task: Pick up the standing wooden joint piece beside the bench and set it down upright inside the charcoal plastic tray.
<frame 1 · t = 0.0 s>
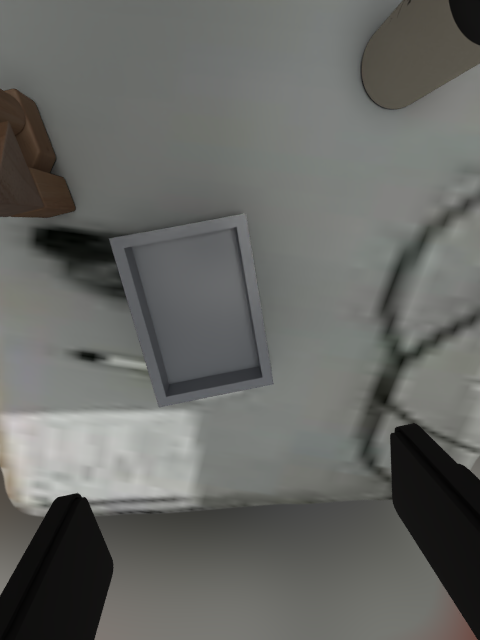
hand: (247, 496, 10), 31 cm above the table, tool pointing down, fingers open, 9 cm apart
travel mug: (395, 68, 34), on the table
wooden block: (42, 163, 34), on the table
tray: (200, 308, 40), on the table
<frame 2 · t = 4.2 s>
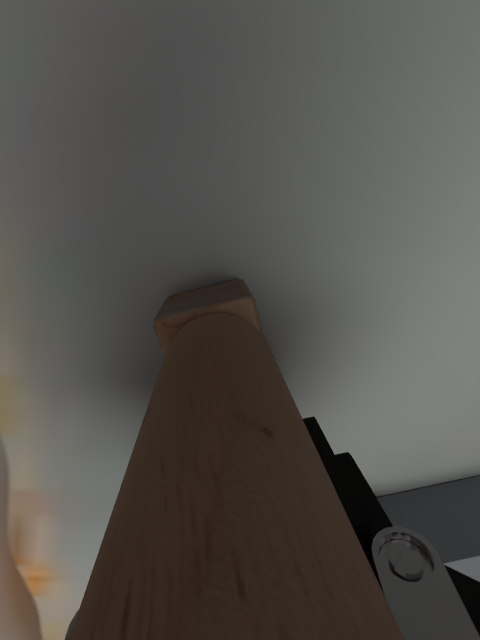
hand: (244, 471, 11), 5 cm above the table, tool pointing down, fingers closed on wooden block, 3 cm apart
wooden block: (233, 387, 16), on the table, touching gripper
tray: (468, 592, 22), on the table
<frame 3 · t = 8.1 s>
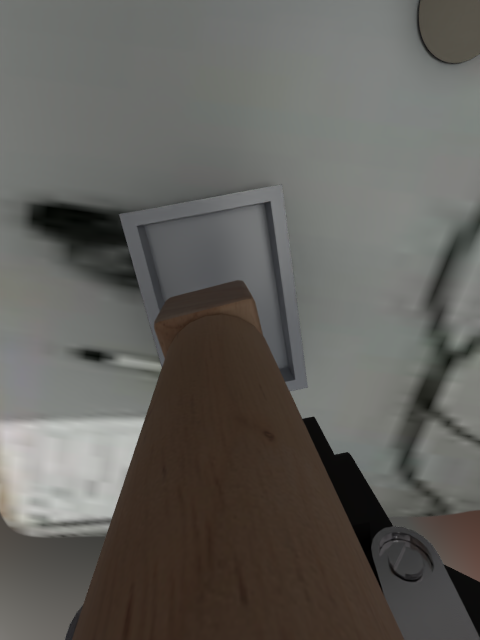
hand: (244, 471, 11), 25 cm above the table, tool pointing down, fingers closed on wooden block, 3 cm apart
travel mug: (457, 13, 29), on the table
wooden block: (233, 388, 16), point 20 cm above the table, touching gripper
tray: (222, 300, 34), on the table
when the fingers open (7 cm above the table, at t = 12.1 s): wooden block stays where it is, resting on tray.
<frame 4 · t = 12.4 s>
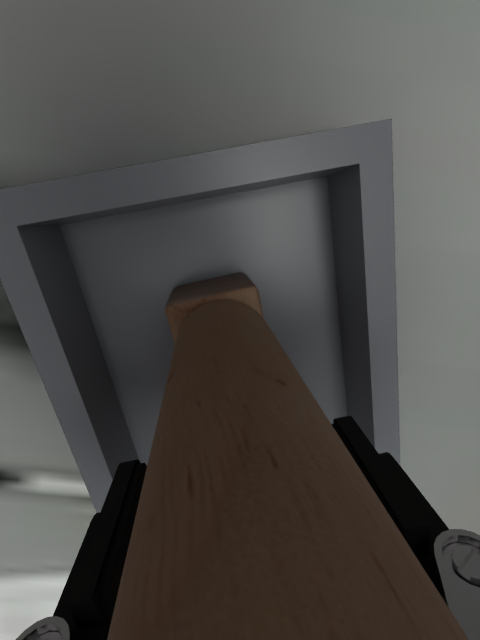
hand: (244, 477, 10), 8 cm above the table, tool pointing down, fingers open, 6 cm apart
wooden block: (232, 375, 17), point 1 cm above the table, touching tray
tray: (231, 372, 18), on the table
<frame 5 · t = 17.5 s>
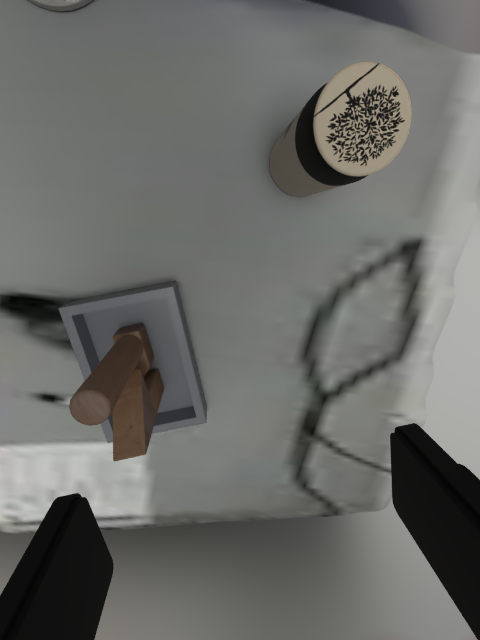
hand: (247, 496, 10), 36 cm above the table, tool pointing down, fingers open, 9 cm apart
travel mug: (299, 163, 41), on the table
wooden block: (143, 358, 46), point 1 cm above the table, touching tray
tray: (144, 357, 47), on the table
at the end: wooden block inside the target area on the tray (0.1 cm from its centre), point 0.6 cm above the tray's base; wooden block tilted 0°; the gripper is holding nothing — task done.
